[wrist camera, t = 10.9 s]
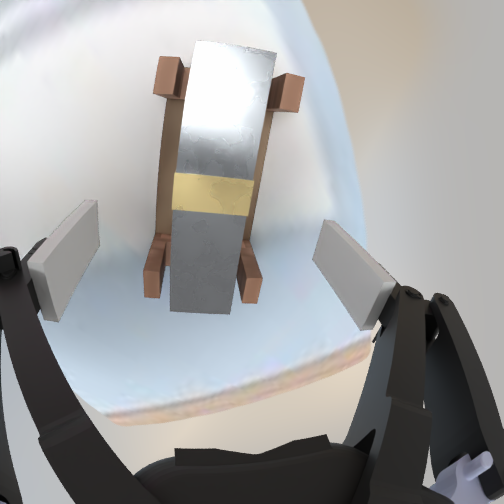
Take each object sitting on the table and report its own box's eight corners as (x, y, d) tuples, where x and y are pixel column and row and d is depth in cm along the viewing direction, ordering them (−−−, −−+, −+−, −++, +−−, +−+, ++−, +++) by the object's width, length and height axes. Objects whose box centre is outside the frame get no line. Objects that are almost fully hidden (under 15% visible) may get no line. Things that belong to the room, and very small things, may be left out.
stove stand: (156, 253, 33) (144, 301, 25) (174, 68, 23) (160, 50, 15) (242, 259, 36) (256, 307, 28) (275, 82, 26) (306, 71, 18)
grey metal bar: (225, 280, 33) (231, 315, 27) (173, 276, 31) (168, 311, 26) (262, 65, 22) (278, 53, 17) (197, 55, 20) (195, 40, 15)
